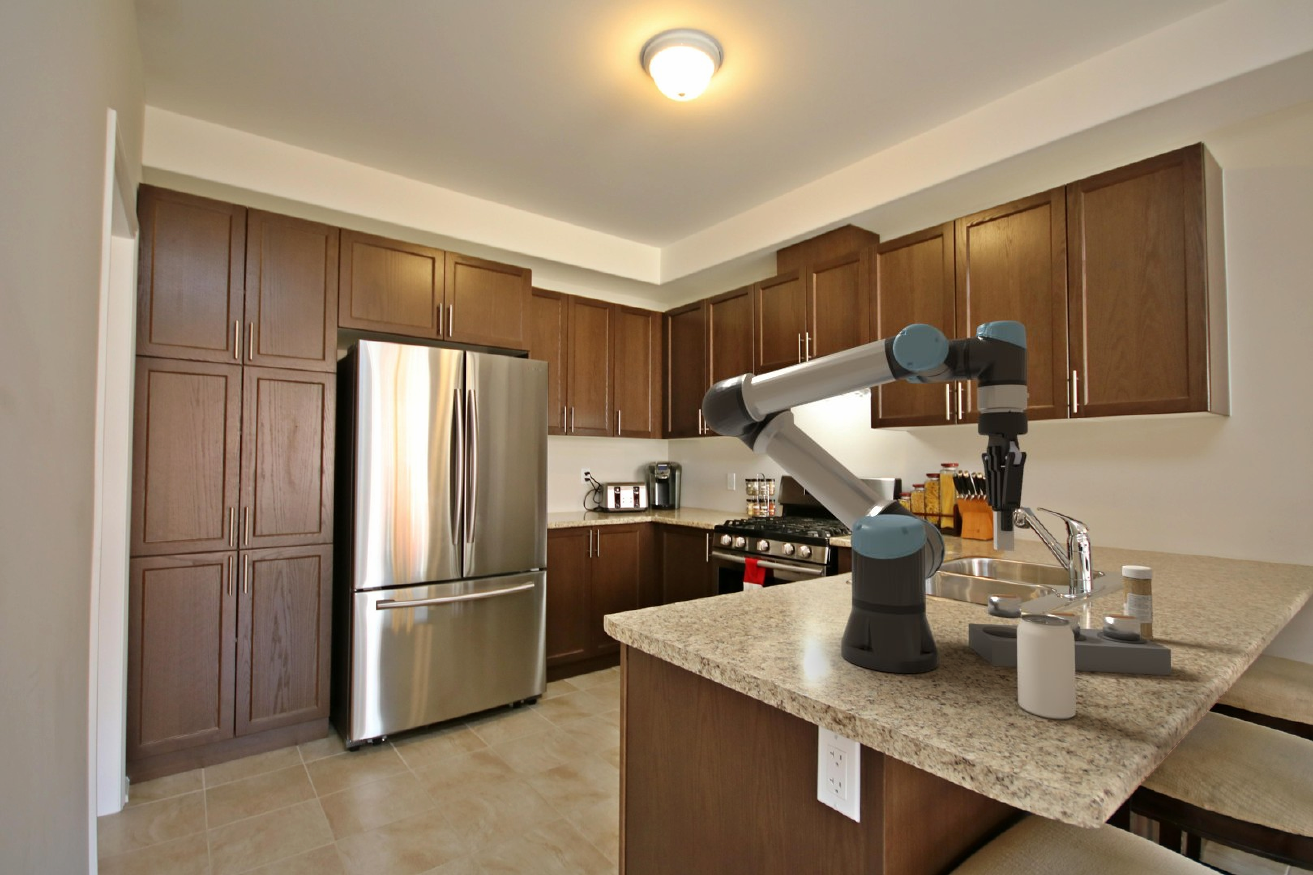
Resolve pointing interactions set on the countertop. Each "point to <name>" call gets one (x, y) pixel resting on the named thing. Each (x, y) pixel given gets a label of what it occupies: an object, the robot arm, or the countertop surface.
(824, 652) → the countertop surface
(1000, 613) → the knob
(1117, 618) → the knob
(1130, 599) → the sprinkles bottle
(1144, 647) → the grey tray
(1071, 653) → the can
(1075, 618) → the knob middle
